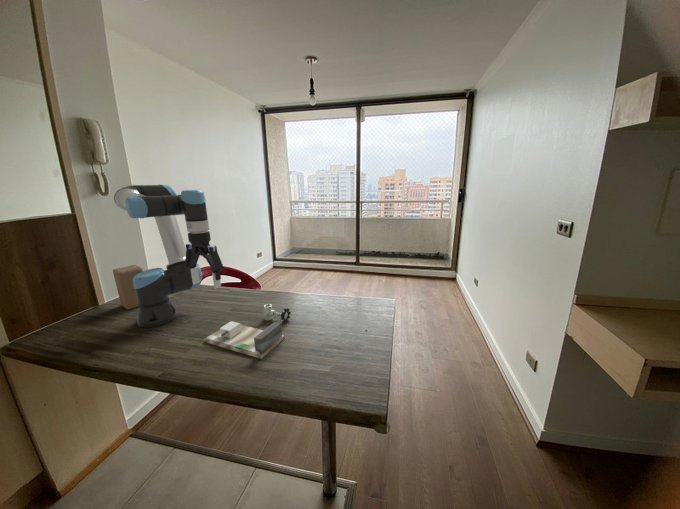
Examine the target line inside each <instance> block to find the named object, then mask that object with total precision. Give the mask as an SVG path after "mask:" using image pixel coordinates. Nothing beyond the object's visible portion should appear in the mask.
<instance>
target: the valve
mask: <svg viewBox="0 0 680 509" xmlns="http://www.w3.org/2000/svg"><path fill="white" fill-rule="evenodd" d="M283 311H284V312H283ZM283 311H282V312H279V311H277V310H276V309H273V304H271V303H267V304H264V306H263V315H264V319H265V321H270V320H273V318H274V317H276V316H277V317H280V320H281V322H282V323H283V324H285V323H288V322H289V319H290V318H291V316H290V315H291V313H292V312H291V311H290V308H284V309H283ZM282 323H281V324H282Z"/></svg>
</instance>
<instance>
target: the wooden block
mask: <svg viewBox="0 0 680 509" xmlns="http://www.w3.org/2000/svg"><path fill="white" fill-rule="evenodd" d="M143 271H144V270H143V268H142V267H140V266H139V265H136V264H133V265H127V266H123V267H122V266H121V267H118V268H114V269H112V273H113V278H114V282H115V285H116V290H117V292H118V293H117V294H118V297H119V301H120V305H121V306H122V307H124V308H125V309H126V310H132V309H134V308H139V306H138V301H137V297H136V292H135V289H134V284H133V278H134V276H135V275H137V274H138V273H140V272H143Z"/></svg>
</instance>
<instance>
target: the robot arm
mask: <svg viewBox="0 0 680 509" xmlns="http://www.w3.org/2000/svg"><path fill="white" fill-rule="evenodd" d="M205 196H206V195H205V192H204V191H203V190H201V189H189V190H187V189H185V190H181V192H180V194H177V192H176V190H175V189H174V188H173V187H172V186H171V185H169V184H148V185H147V184H142V185H141V184H136V185H135V184H132V185H127V186H124V187H121V188H120V189H117V191H115V193H114V195H113V201H114V203H115V204H116V205H117V207H119V208H120V209H122V210H123V211H124V210H125V211H126V212H127V214H128V216H129V218H131V219H145V218H154V220H155V223H156V225H157V229H158V233H159V237H160V238H161V243H162V245H163V248H164V249H163V250H164V251H165V254H166V258H167V261H168V263H167V265H166V267H165V268H166V269H164V268H162V267H155V268H149V269H146V270H143V272H140V273H138V274H137V275H135V276H134V278H133V284H134V289H135V292H136V297H137V301H138V311H137V317H136V322H137V326H138V327H140V328H153V327H158V326H162V325H165V324H167V323H170V322H172V321H173V320H174V319H176V318H177V316H178V313H177V310H176V308H175V306H174V304H172V302H171V300H170V295H173V294H174V295H175V294H177V293H181V292H185V291H189V290H192V289H194V288H198V287H199V286H200V285H201V284H202V279H203V278H202V277H203V276H202V270H201V266H200V264H199V263H198V261H199V259H200V257H203V259H205V260H206V262H207V263H208V264H209V267H210V269H211V270H212V273H211V274H212V281H213V287H214V288H213V289H218V288H221V287H222V282H221V279H222V275H221V271H224V270H225V267H224V265H223V262H222V260H221V257H220V255H219V253H218V247H217V245H211V244H210V241H211V240H212V238H211V232H210V224H209V218H208V213H207V212H208V211H207V210H208V209H207V204H206V201H207V200H206V197H205ZM181 215H182V216H183V215H184V220H185V224H186V232H188V233H187V239H188V242H189V243H186V244H185V241H184V239H183V236H182V233H181V229H180V227H179V224H178V220H177V217H176V216H181Z"/></svg>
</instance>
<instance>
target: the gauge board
mask: <svg viewBox="0 0 680 509" xmlns="http://www.w3.org/2000/svg"><path fill="white" fill-rule="evenodd" d="M285 338H286V337H285V335H284V334H282V323H281V322H277V321H273V323H271V324H270V325H269V326H267V327H266V328H265V329H263V330H262V329H259V328H256V327H252V326H249V325H248V326H247V325H244V324H241V332H239V333H238V334H236V335H235V336H234V337H232V338H231V339H230V338H226V337H223V336H221V333H220V329H218V330H217V331H216V332H213V333H212V334H210V335H208V336H206V337H205V338H204V342H205V343H207V344H211V345H214V346H217V347H220V348H224V349H226V350H230V351H234V352H237V353H240V354H243V355H247V356H250V357H254V358H257V359H260V360H263V359H264V358H265V357H266V356H268V354H269V353H271V351H273V350H274V348H276V347H277V346H278V345H279V344H280V343H281V342H282V341H284V339H285Z"/></svg>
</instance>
